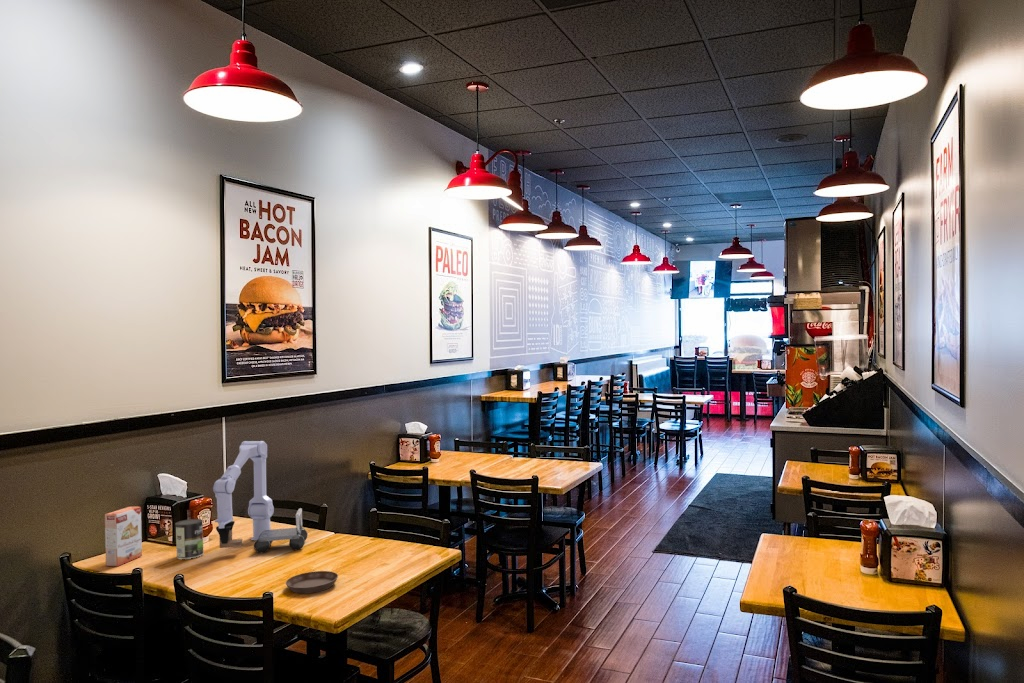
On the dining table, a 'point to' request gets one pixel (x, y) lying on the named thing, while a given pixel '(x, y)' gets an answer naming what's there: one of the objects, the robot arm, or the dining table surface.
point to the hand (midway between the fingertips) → (226, 541)
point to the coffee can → (189, 538)
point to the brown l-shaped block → (231, 542)
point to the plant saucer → (311, 581)
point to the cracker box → (123, 536)
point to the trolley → (283, 536)
